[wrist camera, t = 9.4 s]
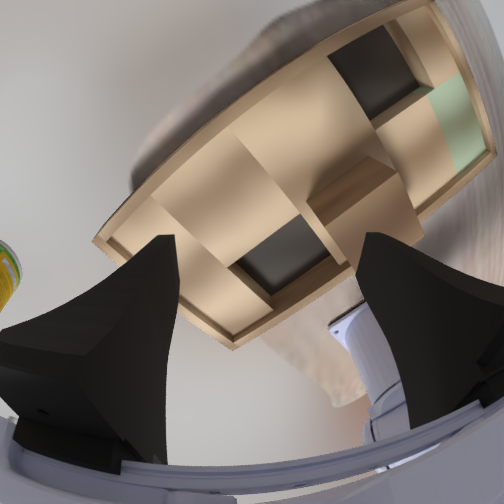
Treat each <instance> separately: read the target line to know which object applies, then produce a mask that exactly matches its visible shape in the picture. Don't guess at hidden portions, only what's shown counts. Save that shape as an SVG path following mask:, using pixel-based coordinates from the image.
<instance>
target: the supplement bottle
mask: <svg viewBox="0 0 504 504" xmlns="http://www.w3.org/2000/svg"><path fill="white" fill-rule="evenodd" d="M21 280H22V268H21V265H20V262H19V260H18V258H17V256H16V254H15V253H14V251H13V250H12V249H11V248H10V247H9V246H8V245H7V244H6V243H4V242H3V241H1V240H0V312H1V311H2V309H3V307H4V306H5V304H6V303H7V301H8V300H9V299H10V297H11V296H12V294H13V293H14V291H15V290H16V289H17V287H18V286H19V284H20V282H21Z"/></svg>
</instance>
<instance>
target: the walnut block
mask: <svg viewBox="0 0 504 504" xmlns="http://www.w3.org/2000/svg"><path fill="white" fill-rule="evenodd" d="M306 203H307V204H308V205H309V207H310V208H311V209H312V211H313V212H314V214H315V215H316V216H317V218H318V219H319V221H320V222H321V223H322V225H323V226H324V228H325V229H326V230H327V232H328V233H329V235H330V236H331V237H332V239H333V240H334V242H335V243H336V244H337V246H338V247H339V249H340V250H341V252H342V253H343V255H344V256H345V257H346V259H347V260H348V262H349V263H350V265H351V266H352V268H353V269H354V271H355V272H356V271H357V267H358V264H359V260H360V256H361V252H362V248H363V244H364V240H365V235H366V232H380V233H383V234H386V235H388V236H391V237H393V238H395V239H397V240H399V241H401V242H403V243H405V244H407V245H409V246H411V247H412V246H413V245H414V244H415V243H417V242H418V241H419V240H420V239H422V238H423V237H424V236H425V235H424V233H423V230H422V227H421V225H420V222H419V219H418V217H417V214H416V212H415V209H414V207H413V205H412V202H411V200H410V198H409V195H408V193H407V191H406V188H405V186H404V184H403V182H402V180H401V177H400V175H399V173H398V172H397V171H395V170H394V169H392V168H390V167H388V166H387V165H385V164H383V163H381V162H379V161H377V160H376V159H374V158H372V157H370V156H367V157H366V158H364V159H363V160H362V161H360V162H359V163H357V164H356V165H355V166H353V167H352V168H351V169H349V170H348V171H347V172H345V173H344V174H343V175H341V176H340V177H338V178H337V179H336V180H334V181H333V182H332V183H330V184H329V185H328V186H326V187H325V188H324V189H322V190H321V191H320V192H318V193H317V194H316V195H314V196H313V197H312V198H310V199H309V200H307V201H306Z"/></svg>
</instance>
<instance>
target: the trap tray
mask: <svg viewBox="0 0 504 504" xmlns="http://www.w3.org/2000/svg"><path fill="white" fill-rule="evenodd" d="M367 156H370V157H372V158H374V159H376V160H377V161H379V162H381V163H383V164H385V165H387V166H388V167H390V168H392V169H394V170H395V171H397V172H398V173H399V175H400V177H401V180H402V182H403V184H404V186H405V188H406V191H407V193H408V195H409V198H410V200H411V202H412V205H413V207H414V209H415V212H416V214H417V217H418V219H419V222H420V223H421V222H422V221H423V220H425V219H426V218H427V217H428V216H430V215H431V214H432V213H433V212H434V211H436V210H437V209H438V208H439V207H440V206H442V205H443V204H444V203H445V202H446V201H448V200H449V199H450V198H451V197H452V196H453V195H454V194H456V193H457V192H458V191H459V190H460V189H461V188H462V187H464V186H465V185H466V184H467V183H468V182H469V181H470V180H471V179H473V178H474V177H475V176H476V175H477V174H478V173H479V172H480V171H481V170H482V169H483V168H484V167H486V166H487V165H488V164H489V163H490V162H491V161H492V160H493V159H494V158H495V157H496V156H497V152H496V148H495V143H494V139H493V135H492V132H491V128H490V124H489V121H488V117H487V114H486V111H485V108H484V105H483V102H482V99H481V96H480V93H479V90H478V88H477V85H476V82H475V80H474V77H473V75H472V72H471V70H470V67H469V65H468V63H467V60H466V58H465V56H464V54H463V52H462V50H461V48H460V45H459V43H458V41H457V39H456V37H455V35H454V34H453V32H452V30H451V28H450V26H449V24H448V22H447V21H446V19H445V17H444V15H443V14H442V12H441V10H440V9H439V7H438V5H437V4H436V2H435V1H434V0H403V1H400V2H398V3H396V4H393V5H391V6H389V7H386V8H384V9H382V10H380V11H378V12H376V13H373V14H371V15H369V16H367V17H365V18H363V19H361V20H359V21H357V22H355V23H353V24H351V25H349V26H348V27H346V28H344V29H342V30H340V31H338V32H336V33H335V34H333V35H331V36H329V37H328V38H326V39H324V40H322V41H321V42H319V43H317V44H316V45H314V46H312V47H311V48H309V49H307V50H306V51H304V52H303V53H301V54H299V55H298V56H296V57H295V58H293V59H292V60H290V61H289V62H287V63H286V64H284V65H283V66H281V67H280V68H278V69H277V70H275V71H274V72H272V73H271V74H269V75H268V76H267V77H265V78H264V79H262V80H261V81H259V82H258V83H257V84H255V85H254V86H253V87H251V88H250V89H249V90H247V91H246V92H245V93H243V94H242V95H241V96H239V97H238V98H237V99H235V100H234V101H233V102H232V103H230V104H229V105H228V106H226V107H225V108H224V109H223V110H221V111H220V112H219V113H218V114H217V115H215V116H214V117H213V118H212V119H210V120H209V121H208V122H207V123H206V124H205V125H203V126H202V127H201V128H200V129H199V130H198V131H196V132H195V133H194V134H193V135H192V136H191V137H190V138H188V139H187V140H186V141H185V142H184V143H183V144H182V145H181V146H180V147H178V148H177V149H176V150H175V151H174V152H173V153H172V154H171V155H170V156H169V157H168V158H167V159H166V160H165V161H163V162H162V163H161V164H160V165H159V166H158V167H157V168H156V169H155V170H154V171H153V172H152V173H151V174H150V175H149V176H148V177H147V178H146V179H145V180H144V181H143V182H142V183H141V184H140V185H139V186H138V187H137V188H136V189H135V191H134V192H133V193H132V194H131V195H130V196H129V197H128V198H127V199H126V200H125V201H124V202H123V203H122V204H121V206H120V207H119V208H118V209H117V210H116V211H115V212H114V213H113V214H112V216H111V217H110V218H109V219H108V220H107V221H106V222H105V224H104V225H103V226H102V228H101V229H100V230H99V232H98V233H97V235H96V236H95V237H94V239H93V240H92V243H94V244H95V245H96V246H97V247H98V248H99V249H100V250H101V251H103V252H104V253H105V254H106V255H107V256H108V257H109V258H111V259H112V260H113V261H114V262H115V263H116V264H118V265H119V266H120V267H121V266H122V265H123V264H125V263H126V262H127V261H128V260H129V259H131V258H132V257H133V256H134V255H135V254H136V253H137V252H139V251H140V250H141V249H142V248H143V247H144V246H145V245H146V244H148V243H149V242H150V241H151V240H152V239H153V238H154V237H156V236H157V235H167V234H175V242H176V251H177V260H178V268H179V276H180V291H179V303H178V309H177V312H178V313H179V314H181V315H182V316H183V317H185V318H186V319H187V320H189V321H190V322H191V323H193V324H194V325H196V326H197V327H198V328H200V329H201V330H203V331H204V332H205V333H207V334H208V335H210V336H211V337H213V338H214V339H216V340H217V341H218V342H220V343H221V344H223V345H224V346H226V347H227V348H229V349H230V350H232V351H233V350H235V349H237V348H239V347H240V346H242V345H244V344H245V343H247V342H249V341H250V340H252V339H254V338H256V337H257V336H259V335H260V334H262V333H264V332H265V331H267V330H269V329H270V328H272V327H274V326H275V325H277V324H278V323H280V322H282V321H283V320H285V319H286V318H288V317H289V316H291V315H293V314H294V313H296V312H297V311H299V310H300V309H302V308H303V307H305V306H307V305H308V304H310V303H311V302H313V301H314V300H316V299H317V298H319V297H320V296H322V295H323V294H325V293H326V292H328V291H329V290H330V289H332V288H333V287H335V286H336V285H338V284H339V283H341V282H342V281H344V280H345V279H346V278H348V277H349V276H351V275H352V274H353V273H355V271H354V269H353V268H352V266H351V265H350V263H349V262H348V260H347V259H346V257H345V256H344V255H343V253H342V252H341V250H340V249H339V247H338V246H337V244H336V243H335V242H334V240H333V239H332V237H331V236H330V235H329V233H328V232H327V230H326V229H325V228H324V226H323V225H322V223H321V222H320V221H319V219H318V218H317V216H316V215H315V214H314V212H313V211H312V209H311V208H310V207H309V205H308V204H307V203H306V201H307V200H309V199H310V198H312V197H313V196H314V195H316V194H317V193H318V192H320V191H321V190H322V189H324V188H325V187H326V186H328V185H329V184H330V183H332V182H333V181H334V180H336V179H337V178H338V177H340V176H341V175H343V174H344V173H345V172H347V171H348V170H349V169H351V168H352V167H353V166H355V165H356V164H357V163H359V162H360V161H362V160H363V159H364V158H366V157H367Z"/></svg>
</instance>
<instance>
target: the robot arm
mask: <svg viewBox="0 0 504 504" xmlns="http://www.w3.org/2000/svg"><path fill="white" fill-rule="evenodd" d="M355 276H356V278H357V281H358V284H359V287H360V289H361V292H362V294H363V296H364V298H365V300H366V302H365V303H363V304H362V305H360V306H359V307H357V308H356V309H354V310H353V311H351V312H350V313H348V314H347V315H345V316H344V317H342V318H341V319H339V320H338V321H336V322H335V323H333V324H332V325H330V326H329V328H328V329H329V332H330V333H331V334H332V335H333V336H334V337H335V338H336V339H337V340H338V341H339V342H340V343H341V344H342V345H343V346H344V347H345V348H346V349H347V350H348V351H349V352H350V353H351V356H352V358H353V360H354V363H355V365H356V368H357V370H358V372H359V375H360V377H361V380H362V382H363V384H364V387H365V389H366V392H367V394H368V397H369V399H370V402H371V404H372V406H371V407H369V408H368V412H369V415H370V417H371V418H369V419H367V420H366V421H365V424H364V428H363V431H362V439H363V444H364V445H363V446H359V447H355V448H352V449H348V450H344V451H339V452H335V453H330V454H326V455H321V456H316V457H310V458H304V459H298V460H291V461H284V462H276V463H267V464H256V465H241V466H204V467H203V466H175V465H168V462H167V446H166V416H165V415H166V409H165V408H166V407H165V406H166V377H167V376H166V375H167V362H168V355H169V349H170V344H171V339H172V333H173V329H174V324H175V319H176V314H177V309H178V303H179V291H180V276H179V268H178V260H177V251H176V242H175V234H167V235H157V236H156V237H154V238H153V239H152V240H151V241H150V242H149V243H148V244H146V245H145V246H144V247H143V248H142V249H141V250H140V251H139V252H137V253H136V254H135V255H134V256H133V257H132V258H131V259H129V260H128V261H127V262H126V263H125V264H123V265H122V266H121V267H120V268H118V269H117V270H116V271H115V272H113V273H112V274H111V275H110V276H108V277H107V278H106V279H104V280H103V281H101V282H100V283H98V284H97V285H95V286H94V287H92V288H91V289H90V290H88V291H86V292H85V293H83V294H81V295H79V296H77V297H76V298H74V299H72V300H70V301H69V302H67V303H65V304H63V305H61V306H59V307H57V308H55V309H53V310H51V311H49V312H47V313H45V314H42V315H40V316H38V317H35V318H33V319H30V320H28V321H25V322H22V323H19V324H17V325H14V326H11V327H8V328H5V329H2V330H1V332H0V397H1V398H2V399H3V400H4V401H5V402H6V403H7V405H8V406H9V407H10V408H11V409H12V410H13V411H14V412H15V413H16V414H17V415H18V416H19V418H18V422H17V425H16V424H14V423H13V422H11V421H10V420H8V419H6V418H3V417H1V416H0V503H1V504H237V499H236V498H234V497H233V496H221V495H244V494H257V493H267V492H276V491H283V490H291V489H297V488H303V487H309V486H314V485H319V484H323V483H327V482H332V481H337V480H340V479H344V478H348V477H352V476H355V475H359V474H362V473H366V472H369V471H372V470H376V471H377V472H378V474H375V475H372V476H370V477H367V478H364V479H361V480H358V481H355V482H352V483H348V484H345V485H342V486H338V487H335V488H331V489H328V490H324V491H320V492H316V493H312V494H308V495H303V496H299V497H294V498H289V499H283V500H278V501H271V502H264V503H257V504H504V287H502V286H499V285H495V284H492V283H489V282H486V281H483V280H480V279H477V278H475V277H472V276H469V275H467V274H465V273H462V272H460V271H458V270H455V269H453V268H451V267H449V266H447V265H445V264H443V263H441V262H439V261H437V260H435V259H433V258H431V257H429V256H427V255H425V254H424V253H422V252H420V251H418V250H416V249H414V248H412V247H411V246H409V245H407V244H405V243H403V242H401V241H399V240H397V239H395V238H393V237H391V236H388V235H386V234H383V233H380V232H366V235H365V240H364V244H363V248H362V252H361V256H360V260H359V264H358V267H357V271H356V275H355ZM336 330H337V331H336Z"/></svg>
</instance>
